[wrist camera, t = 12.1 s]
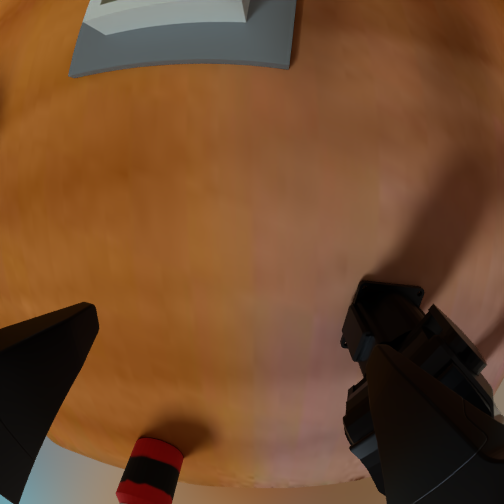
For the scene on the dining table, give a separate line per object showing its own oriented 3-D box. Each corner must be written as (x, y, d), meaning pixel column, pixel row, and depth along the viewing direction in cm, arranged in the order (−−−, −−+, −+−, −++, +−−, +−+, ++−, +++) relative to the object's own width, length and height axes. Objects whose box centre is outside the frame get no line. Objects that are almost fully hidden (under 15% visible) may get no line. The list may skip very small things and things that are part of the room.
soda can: (140, 452, 33) (119, 508, 22) (133, 430, 31) (106, 494, 19) (184, 464, 33) (169, 524, 22) (183, 445, 31) (164, 514, 19)
